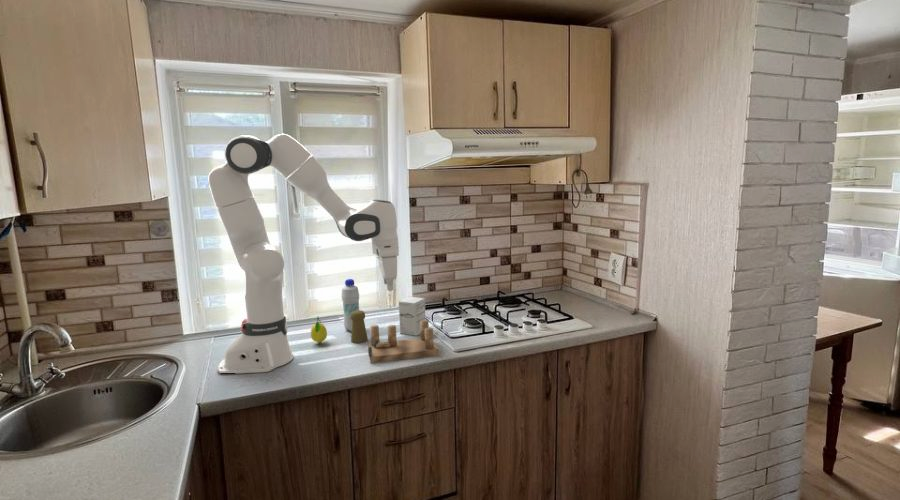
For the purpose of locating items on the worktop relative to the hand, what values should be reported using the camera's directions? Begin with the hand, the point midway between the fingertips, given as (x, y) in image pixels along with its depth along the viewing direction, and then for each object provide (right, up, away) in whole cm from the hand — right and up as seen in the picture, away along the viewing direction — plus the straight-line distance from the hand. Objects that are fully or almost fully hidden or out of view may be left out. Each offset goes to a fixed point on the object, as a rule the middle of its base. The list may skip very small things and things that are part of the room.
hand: (388, 287), depth 163 cm
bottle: (-16, -18, +20) cm, 31 cm away
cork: (-11, -20, +8) cm, 24 cm away
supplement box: (+7, -18, +15) cm, 25 cm away
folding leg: (0, -19, -5) cm, 20 cm away
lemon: (-26, -21, +7) cm, 34 cm away
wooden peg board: (+5, -21, -5) cm, 23 cm away
